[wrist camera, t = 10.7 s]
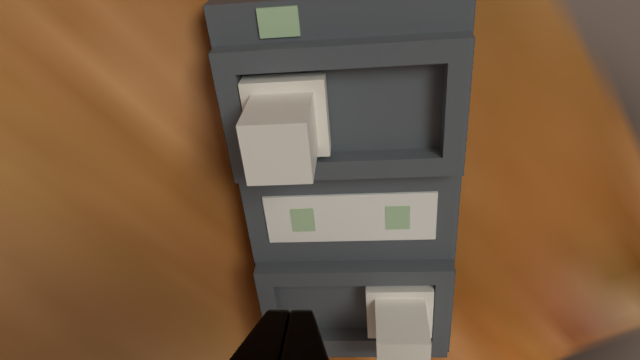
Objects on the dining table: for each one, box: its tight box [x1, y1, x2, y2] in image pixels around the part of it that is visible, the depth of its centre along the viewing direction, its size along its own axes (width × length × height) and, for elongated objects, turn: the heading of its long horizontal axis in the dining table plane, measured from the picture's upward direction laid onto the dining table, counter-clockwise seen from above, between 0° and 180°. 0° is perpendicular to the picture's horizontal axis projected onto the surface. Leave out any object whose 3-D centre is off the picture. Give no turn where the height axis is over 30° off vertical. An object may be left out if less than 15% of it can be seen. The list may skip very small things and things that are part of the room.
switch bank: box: [203, 0, 476, 357], centre depth 21 cm, size 18×9×2 cm, turn 5°
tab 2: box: [366, 285, 434, 360], centre depth 22 cm, size 3×3×3 cm
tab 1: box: [236, 72, 331, 186], centre depth 17 cm, size 3×3×3 cm
